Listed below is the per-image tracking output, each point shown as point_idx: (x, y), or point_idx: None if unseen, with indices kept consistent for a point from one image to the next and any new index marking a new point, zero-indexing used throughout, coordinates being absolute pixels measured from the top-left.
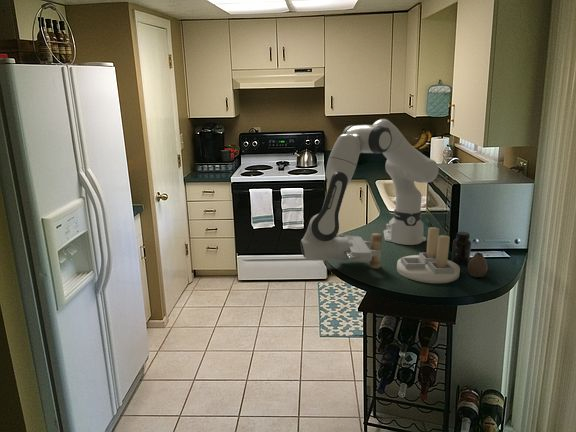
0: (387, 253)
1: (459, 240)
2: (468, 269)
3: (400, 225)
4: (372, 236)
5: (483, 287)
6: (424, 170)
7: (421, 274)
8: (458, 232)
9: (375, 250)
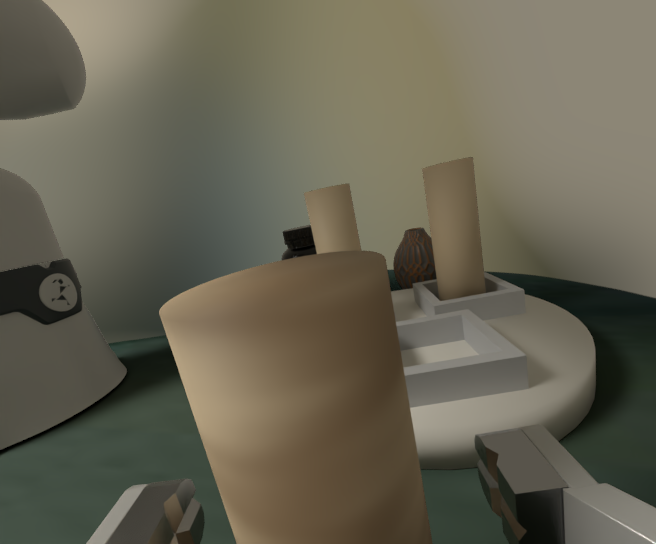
0: (113, 497)
1: (312, 245)
2: (428, 278)
3: (9, 341)
4: (320, 325)
5: (510, 280)
6: (37, 16)
7: (575, 339)
8: (290, 230)
9: (643, 508)
